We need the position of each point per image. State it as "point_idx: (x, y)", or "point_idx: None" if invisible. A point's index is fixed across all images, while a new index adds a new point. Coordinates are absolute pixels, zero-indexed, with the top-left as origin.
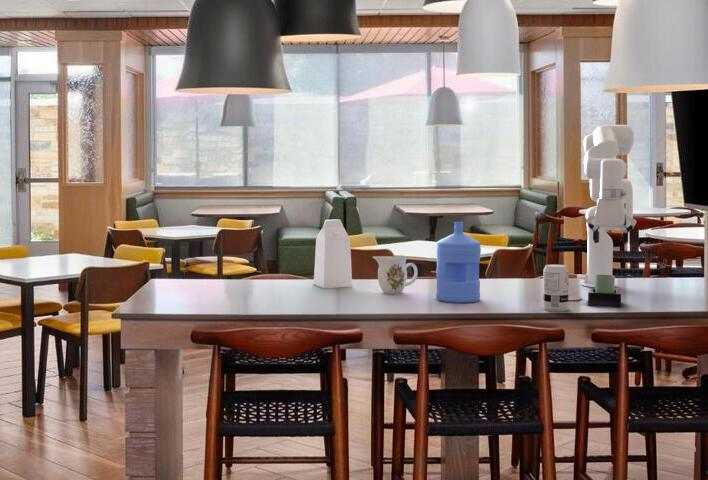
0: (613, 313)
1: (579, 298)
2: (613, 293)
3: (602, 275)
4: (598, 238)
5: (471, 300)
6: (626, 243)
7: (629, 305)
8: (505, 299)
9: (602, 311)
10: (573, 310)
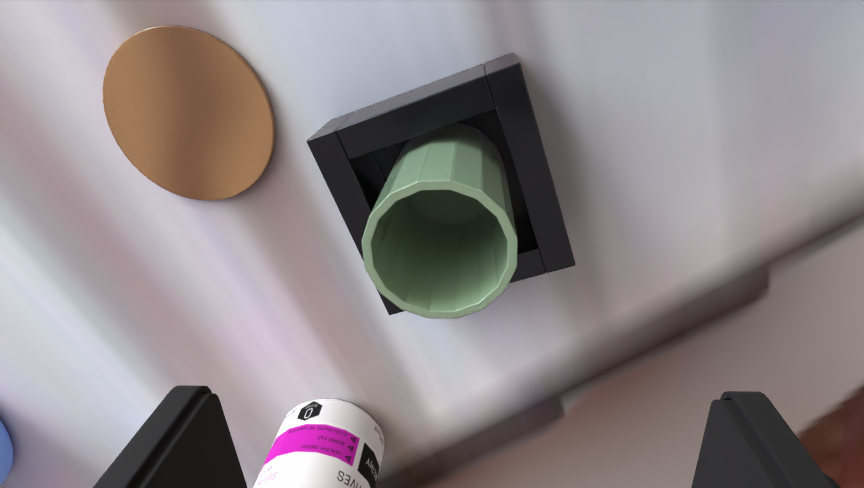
0: (571, 392)
1: (260, 102)
2: (526, 267)
3: (397, 199)
4: (185, 470)
5: (11, 462)
6: (758, 398)
7: (590, 128)
8: (19, 317)
9: (514, 373)
10: (399, 409)
